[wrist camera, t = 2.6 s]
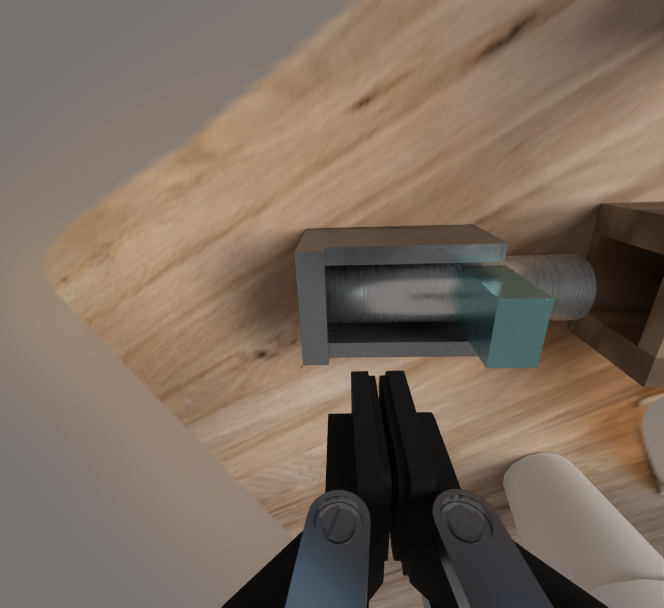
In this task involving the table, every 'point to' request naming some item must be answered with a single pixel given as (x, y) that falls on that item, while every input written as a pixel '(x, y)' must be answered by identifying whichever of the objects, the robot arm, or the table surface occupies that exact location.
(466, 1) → the table surface
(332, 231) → the sleeve
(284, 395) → the table surface
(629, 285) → the socket block
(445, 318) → the tube
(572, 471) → the foam cup
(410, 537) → the robot arm
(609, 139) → the table surface
